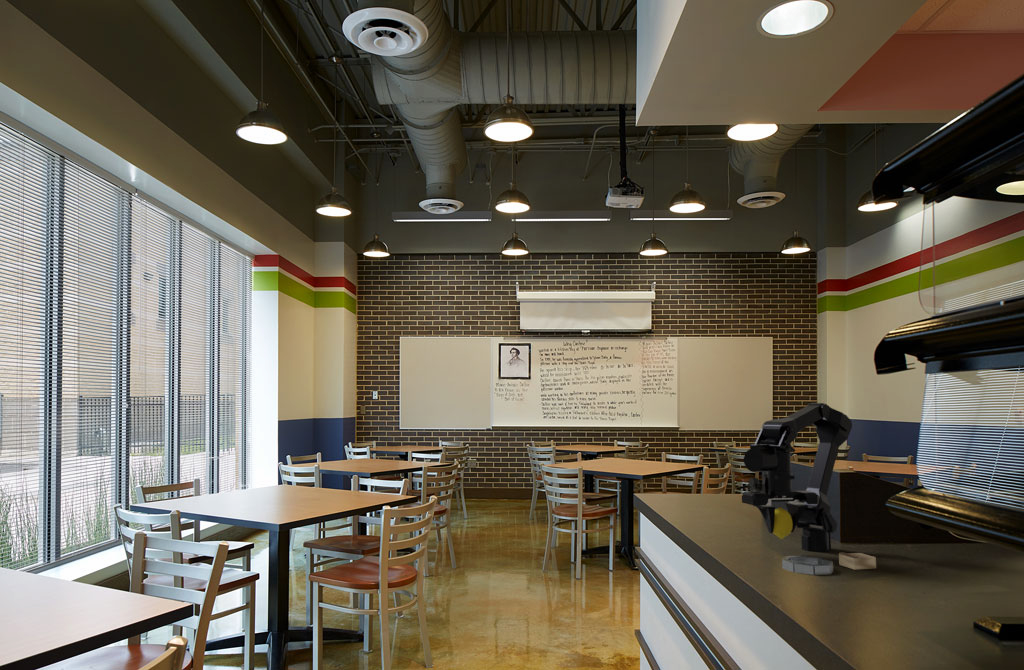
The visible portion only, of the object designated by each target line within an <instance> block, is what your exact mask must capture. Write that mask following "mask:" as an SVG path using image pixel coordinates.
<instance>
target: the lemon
mask: <svg viewBox="0 0 1024 670" xmlns="http://www.w3.org/2000/svg"><path fill="white" fill-rule="evenodd" d="M792 527H793V523H792V518H791V515H790V514H789V513H788V510H786V509H784V508H783V507H781V506H780V507H778V508H775V518H774V529H773V533H772V534H773V535H775V536H776V537H778V539H780V540H783V539H785V537H788V536H790V534H791V533H792V532H791V531H792Z"/></svg>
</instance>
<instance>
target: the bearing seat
mask: <svg viewBox="0 0 1024 670" xmlns="http://www.w3.org/2000/svg"><path fill="white" fill-rule="evenodd" d="M781 565H782V567H781V568H782V569H783V570H787V571H789V572H792V573H795V574H802V575H803V574H804V575H809V576H811V575H812V576H820V575H821V576H823V575H832V573H834V561H832V560H828V559H826V558H822V557H819V556H818V557H816V556H809V555H786V556H784V557H783V558H782V559H781Z"/></svg>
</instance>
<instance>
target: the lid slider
mask: <svg viewBox="0 0 1024 670" xmlns="http://www.w3.org/2000/svg"><path fill="white" fill-rule="evenodd" d="M838 564H839V565H838V566H842V567H846V568H849V569H852V570H854V571H855V570H868V569H869V570H871V569H874V570H875V569H877V559H876V556H873V555H869V554H865V553H861V552H854V553H853V552H851V553H846V552H845V551H844V552H843V551H842V552H839V553H838Z"/></svg>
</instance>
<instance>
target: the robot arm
mask: <svg viewBox="0 0 1024 670" xmlns="http://www.w3.org/2000/svg"><path fill="white" fill-rule="evenodd" d="M811 425H813V426H814V427H815V428H816V430H815V432H816V435H817V437H818V440H819V443H818V446H817V449H816V450H817V451H816V454H815V458H814V461H813V466H812V469H811V473H810V475H809V481H808V484H807V488H806V489H805V490H792V488H793V487H792V480H795V475H794V474H792V464H791V463H792V461H791V460H792V459H791V457H792V456H791V453H795V452H796V449H795V448H794V446H792V445H791V444H792V443H793V442H794V441H795V440H796V439H797V438H798V433H799V432H800V431H802V430H804V429H805V428H807V427H809V426H811ZM761 426H762V427H761V428H760V431H759V433H758V435H757V437H756V440H755V442H754V444H753V443H752V444H750V445H749V449H748V450H747V451H746V452H745V454H744V456H743V464H744V466H745V468H746V469H747V470H748V471H750V472H752V473H756V472H757V473H759V472H765V473H764V475H763V479H759V478H757V477H751V478H749V479H748V489H749V491H743V494H742V495H741V503H742V504H746V505H751V506H753V507H756V508H757V510H759V512H760V514H761V516H762V518H763V520H764V523H765V526H766V528H767V530H768V533H770V534H774V533H773V529H774V518H775V509H776V506H774V505H772V503H775V502H776V503H778V502H779V503H780V502H784V505H785V507H786V509H787V512H788V513H789V514H790V515H791V518H792V523H793V527H792V531H791V533H794V531H795V529H796V528H797V529H802V534H801V550H803V551H806V552H818V553H826V552H829V551H832V539H831V535H832V534H831V533H835V532H836V531H837V526H838V523H837V521H836V520H835V518H834V516H833V515H832V514H831V505H830V502H829V499H828V497H827V496H828V490H829V488H830V483H831V480H832V479H831V478H832V476H833V471H834V468H835V464H836V460H837V456H838V455H837V454H838V451H839V448H840V446H842V445H843V444H844V443H845V442H846V441H847V440H848V439H849V436H850V433H851V431H852V428H853V422H852V420H851V418H849V416H848V415H847V414H845V413H843V412H842V411H839V410H837V409H835V408H832V407H831V406H829V405H828V404H827V403H825V402H811V403H808V404H807V405H806V406H805V407H803V408H801V409H799V410H797V411H794V412H793V413H792V414H791V413H790V414H789V415H788V416H786V417H783V418H775V419H770V420H767V421H765V422H763V424H762V425H761Z"/></svg>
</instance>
